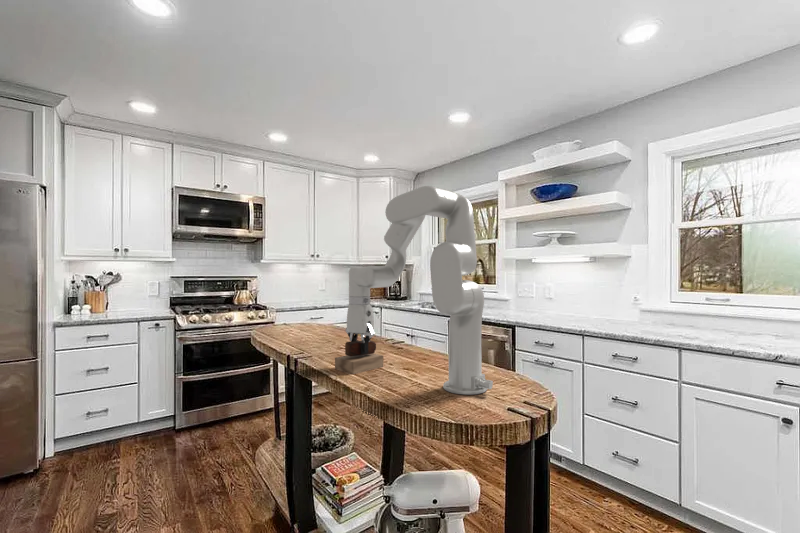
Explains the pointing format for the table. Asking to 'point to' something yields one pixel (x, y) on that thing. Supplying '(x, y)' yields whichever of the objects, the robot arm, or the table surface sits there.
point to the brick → (358, 348)
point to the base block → (358, 363)
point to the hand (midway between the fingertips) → (359, 352)
